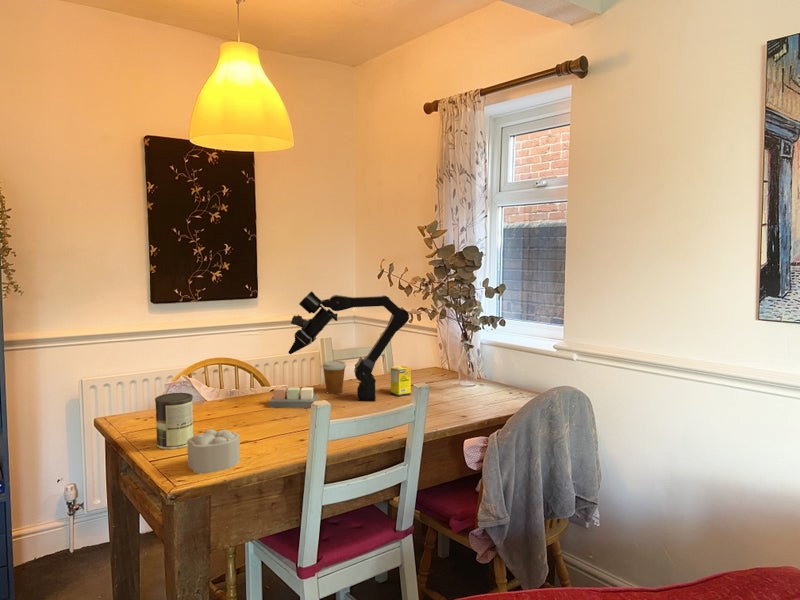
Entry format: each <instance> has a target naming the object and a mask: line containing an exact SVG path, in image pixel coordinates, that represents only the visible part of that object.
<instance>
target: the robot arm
mask: <svg viewBox="0 0 800 600" xmlns="http://www.w3.org/2000/svg"><path fill="white" fill-rule="evenodd" d="M298 305H299V306H300V307H301V308H302V309H303V310H305V311H306V312H307V313H308V314H315V315H314V316H312V318H310V319H308V320H307V319H305V318H303V316H301V315H299V314H297V315H293V317H292V318H291V321H290V324H291V325H293V326H294V325H295V326H297V327H300V329H297V331H296V332H295V333H294V336H293V337H294V341H293V343H292V345H291V347H290V348H289V350H288V354H289V355H292V354H294V353H296V352H298V351H300V350H301V349H303V348H305V347H307V346H309V345H311V344H312V343H314V341H316V339H317V336H318V335H319V334H320V332H322V331H323V330H324V328H325V327H326V326H327V325H328V324H329V323H330V322H331V321H332V320H333V321H335V322H338V313H334V312H340V311H345V310H348V309H352V308H367V307H368V308H369V307H372V308H373V307H384V308H385V310H387V311H388V312H389V313H390V314H391V315H390V318H389V321H388V323H387V326H386V327H385V329H384V331H383V332H382V333H381V335H380V336H379V338H378V339H377V340H376V342H375V343H374V345H373V347H371V349H370V351H369V353H368V354H367V355H366V356H365V357H364V358H363V357H362V356H361V357H359V359H358V361H357V362H356V363H355V364H354V371H353V372H354V376H355V378H356V380H358V381H359V383H358V386H357V391H356V393H357V394H356V395H357V396H356V397H357V400H358V401H359V402H363V401H366V402H368V401H369V402H375V401H376V399H377V395H376V381H377V380H376V378H375V376H374V375H373V373H372V372H373V370H374V368H375V365H376V363H377V361H378V360H379V358H380V356H381V354H382V353H383V352H384V350H385V349H386V347H387V346H388V344H389V343H390V342H391V340H392V339H393V337H394V336H395V334H396V333H397V332H398V331H399V330H400V329H402V328H404V327H403V326H405V325H406V324H407V323H408V321H409V319H410V314H409V312H408V311H407V310H406V309H405V308H402V307H399V306H398V305H397V304H395V303H394V302H393V300H391V299H390V297H389V296H387V295H379V296H376V295H375V296H355V297H354V296H353V297H352V296H347V295H346V296H345V295H338V294H333V295H332V296H330V298H326V299H322V300H321V298H319V297H318V296H317V295H316V294H315V293H314V292H313V291H312V290H310V292H308V294H307V295H306V296H304V297H303V298H302V299H301V301H299V303H298ZM326 308H328V309H326ZM333 311H334V312H333Z"/></svg>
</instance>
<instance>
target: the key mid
mask: <svg viewBox="0 0 800 600" xmlns="http://www.w3.org/2000/svg"><path fill="white" fill-rule="evenodd" d="M300 395H301V387H298V386H297V387H291V386H290V387H287V400H299V399H300Z"/></svg>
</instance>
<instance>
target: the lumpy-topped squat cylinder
mask: <svg viewBox="0 0 800 600" xmlns="http://www.w3.org/2000/svg"><path fill="white" fill-rule="evenodd" d="M240 436H241V435H240V434H239V433H236V432H234V431H232V432H231V431H230V430H228V429H221V430H219V431H218V430H217V431H216V430H214V429H211V428H210V429H209V428H208V429H206V430H204V432H203V433H197V434H195V435H193V437H191V438H189V439H188V440H187V447H186V448H187V467H188V466H189V467H190V468H189V467H188V468H189V469H191V471H192V470H193V471H192V472H193V473H194V472H195V473H194V474H196V473H199V474H198V475H204V473H206V474H211V473H216V472H219V471H225V470H228V469H232V468H234V467H236V466H237V465H238V464H239V463H240V462H241V443H240V442H241V440H240ZM200 473H202V474H200Z"/></svg>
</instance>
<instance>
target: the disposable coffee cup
mask: <svg viewBox="0 0 800 600" xmlns="http://www.w3.org/2000/svg"><path fill="white" fill-rule="evenodd" d="M321 367H322V369H323V375H324V384H325V390H326V393H327V392H328V393H327V394H330V393H338V394H341V393H342V392H343V387H344V386H343V385H344V377H345V369H346V368H347V365H346V362H344V361H343V360H342V361H341V360H328V361H324V362H323V364H322V366H321ZM340 392H341V393H340Z"/></svg>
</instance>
